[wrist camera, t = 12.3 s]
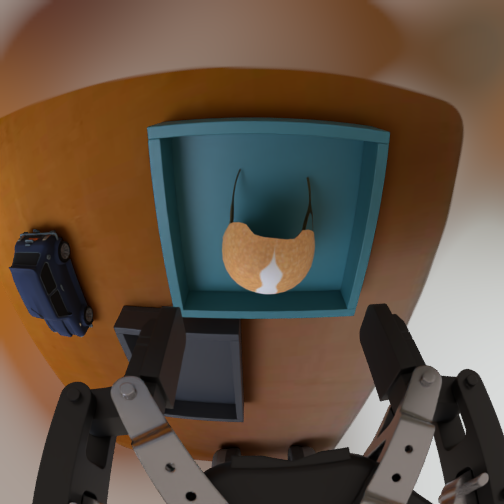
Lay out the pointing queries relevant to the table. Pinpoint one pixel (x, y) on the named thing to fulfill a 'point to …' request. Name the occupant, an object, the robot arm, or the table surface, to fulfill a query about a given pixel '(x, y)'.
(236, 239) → the helmet
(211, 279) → the teal tray
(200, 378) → the charcoal tray
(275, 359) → the table surface
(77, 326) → the toy car
